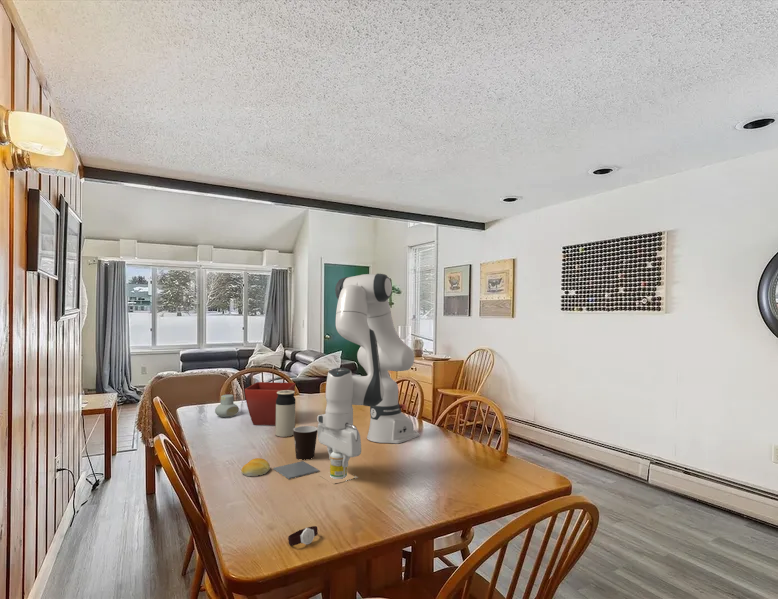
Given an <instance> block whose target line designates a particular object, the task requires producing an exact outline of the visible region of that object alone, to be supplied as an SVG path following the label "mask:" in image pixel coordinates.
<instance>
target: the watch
mask: <svg viewBox="0 0 778 599" xmlns="http://www.w3.org/2000/svg"><path fill="white" fill-rule="evenodd" d="M318 535H319V534H318V526H317V525H313V526H308V527H304V528H303V529H299V530H297V531H295V532H293V533H291V534H290V535H289V536H288V537H287V540H288V546H289V547H290V546H297V545H299V544H304V545H310V544H311V543H312V542H313V541H314V538H315V537H316V536H318Z"/></svg>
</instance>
